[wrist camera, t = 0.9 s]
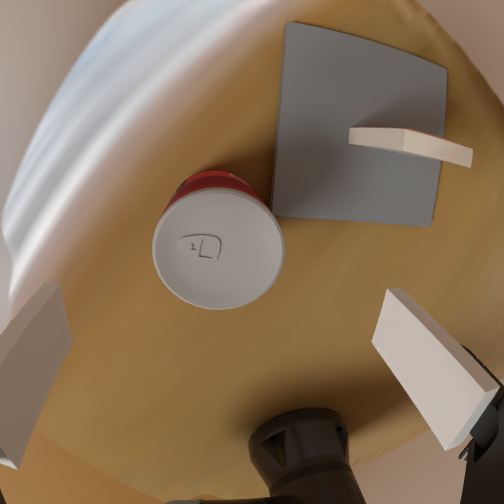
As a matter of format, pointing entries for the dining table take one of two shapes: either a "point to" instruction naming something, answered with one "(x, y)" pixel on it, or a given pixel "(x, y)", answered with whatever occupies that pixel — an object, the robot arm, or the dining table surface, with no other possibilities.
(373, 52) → the slate board
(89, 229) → the dining table surface
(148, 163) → the dining table surface
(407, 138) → the tile
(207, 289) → the canned food
